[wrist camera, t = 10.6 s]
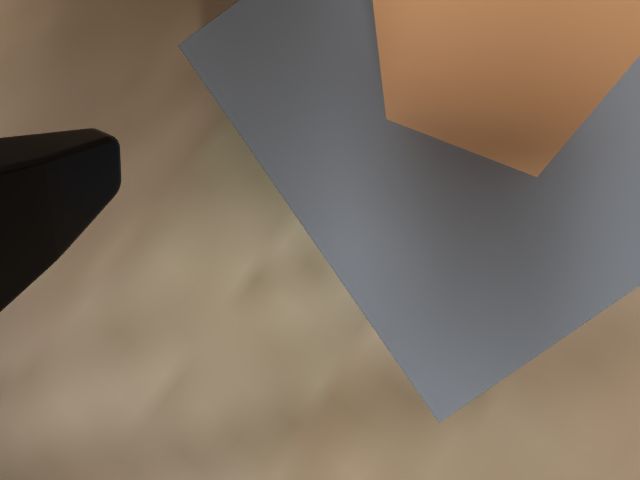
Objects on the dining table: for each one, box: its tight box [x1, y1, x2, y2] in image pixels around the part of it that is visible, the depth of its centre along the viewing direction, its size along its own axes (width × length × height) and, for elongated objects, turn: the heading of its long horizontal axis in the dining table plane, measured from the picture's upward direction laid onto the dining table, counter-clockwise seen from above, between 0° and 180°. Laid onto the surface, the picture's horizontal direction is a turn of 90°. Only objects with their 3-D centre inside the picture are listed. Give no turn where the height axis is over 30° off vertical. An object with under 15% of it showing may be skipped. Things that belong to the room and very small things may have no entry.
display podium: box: [178, 0, 640, 423], centre depth 18 cm, size 14×14×2 cm
